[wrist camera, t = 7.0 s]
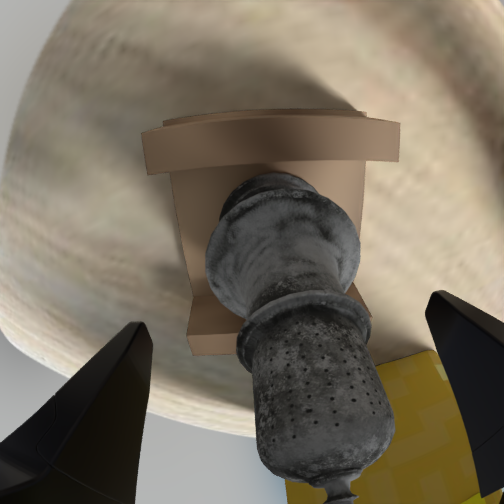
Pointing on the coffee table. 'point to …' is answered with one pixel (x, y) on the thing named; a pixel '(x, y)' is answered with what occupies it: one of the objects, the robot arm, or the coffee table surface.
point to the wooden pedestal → (248, 166)
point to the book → (415, 444)
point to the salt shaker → (301, 331)
